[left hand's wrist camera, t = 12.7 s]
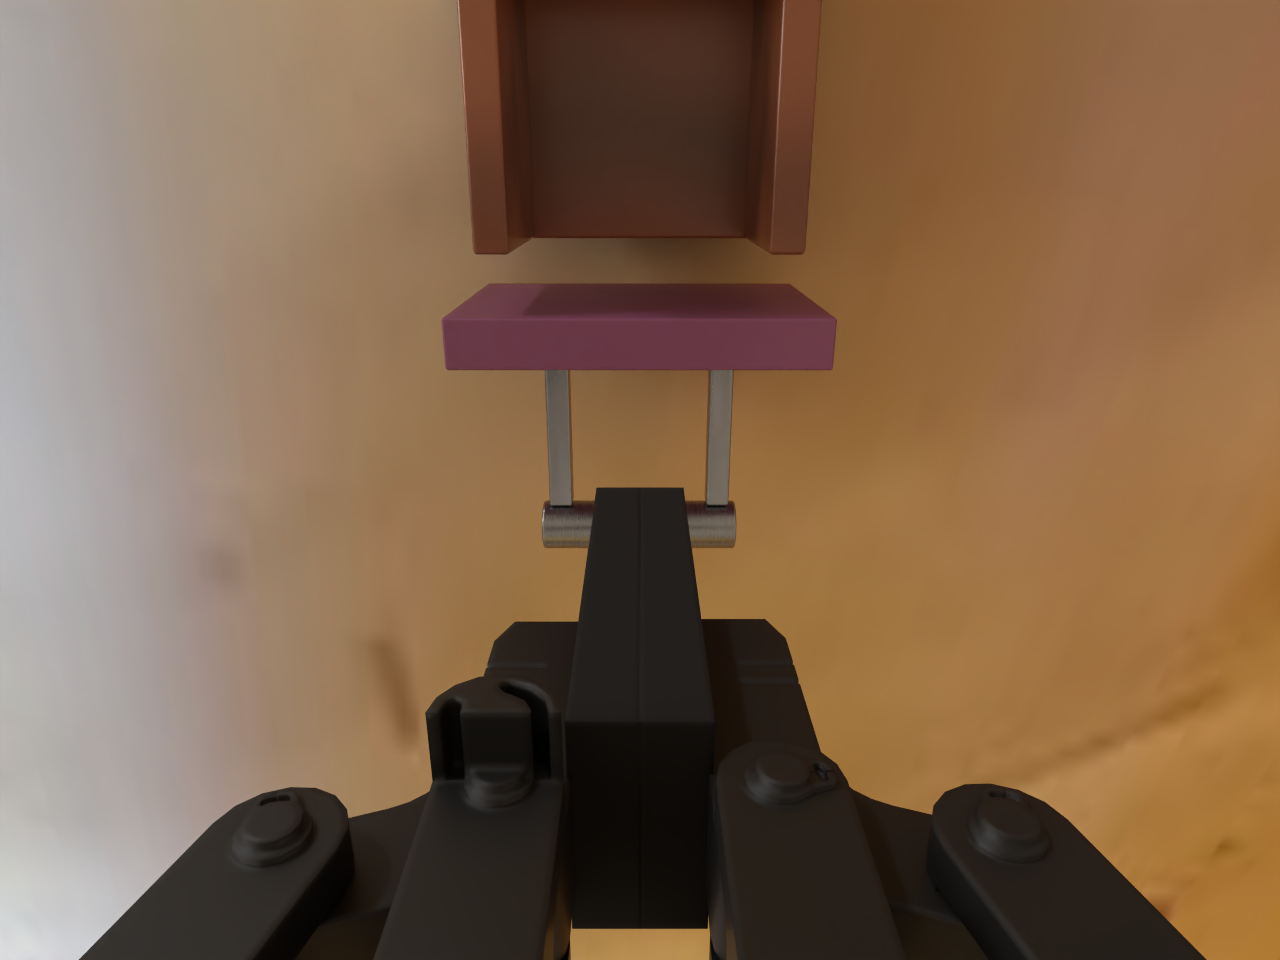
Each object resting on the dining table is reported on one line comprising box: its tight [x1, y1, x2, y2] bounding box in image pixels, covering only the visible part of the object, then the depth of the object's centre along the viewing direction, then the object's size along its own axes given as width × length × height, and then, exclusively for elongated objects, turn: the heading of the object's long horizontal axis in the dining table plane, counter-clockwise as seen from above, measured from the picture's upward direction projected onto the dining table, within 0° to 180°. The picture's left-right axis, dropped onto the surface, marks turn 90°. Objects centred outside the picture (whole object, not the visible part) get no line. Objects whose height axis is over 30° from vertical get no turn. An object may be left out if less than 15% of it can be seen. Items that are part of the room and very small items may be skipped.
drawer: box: [442, 0, 837, 548], centre depth 20 cm, size 23×9×6 cm, turn 0°
